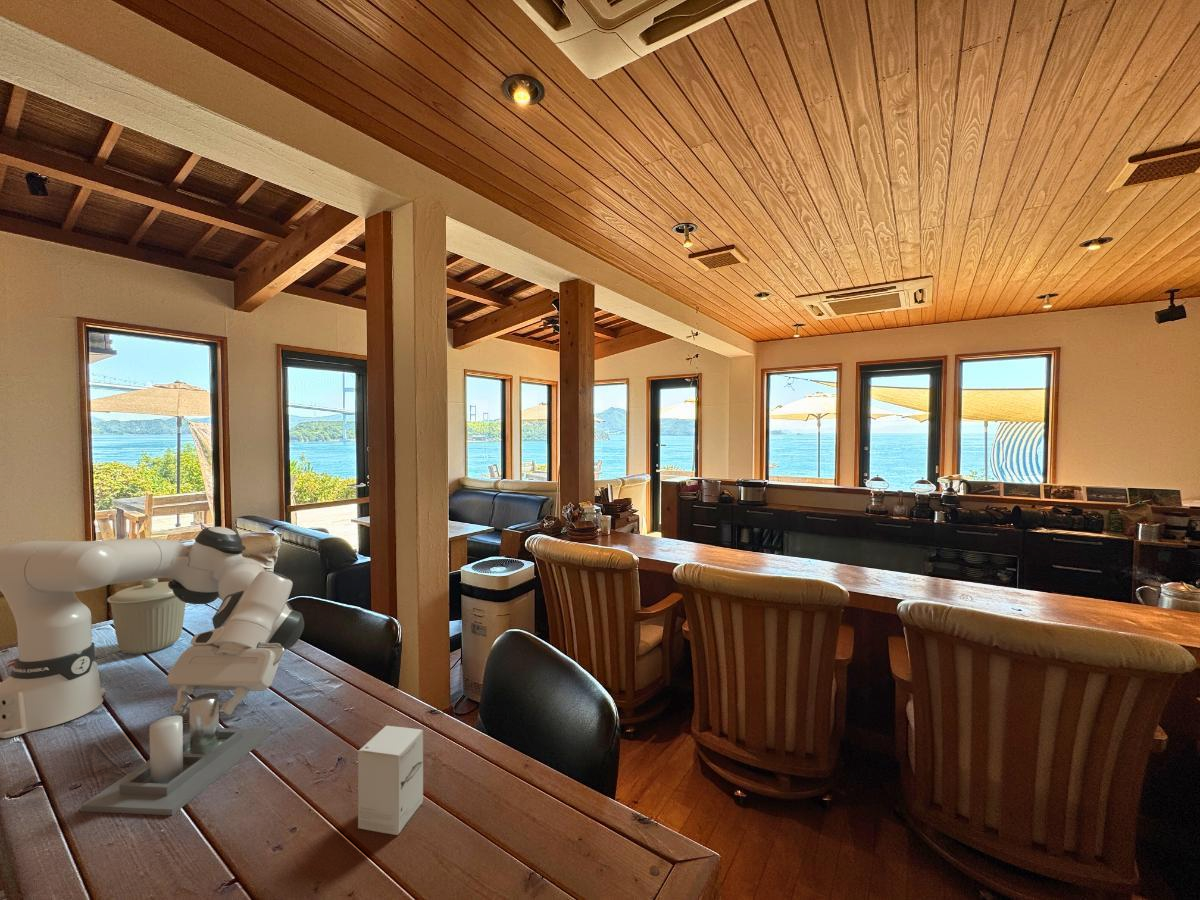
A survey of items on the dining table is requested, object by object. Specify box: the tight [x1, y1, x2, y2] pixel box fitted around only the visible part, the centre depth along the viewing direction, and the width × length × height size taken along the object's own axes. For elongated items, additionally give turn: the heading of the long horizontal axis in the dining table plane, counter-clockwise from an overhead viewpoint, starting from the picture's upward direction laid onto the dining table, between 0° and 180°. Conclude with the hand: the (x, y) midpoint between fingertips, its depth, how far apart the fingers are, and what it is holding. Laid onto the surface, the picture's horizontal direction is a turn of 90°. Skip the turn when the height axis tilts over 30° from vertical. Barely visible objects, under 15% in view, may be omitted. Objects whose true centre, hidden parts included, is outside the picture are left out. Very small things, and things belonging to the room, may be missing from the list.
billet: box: [188, 692, 220, 755], centre depth 95 cm, size 4×4×10 cm
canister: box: [106, 578, 187, 655], centre depth 145 cm, size 18×18×21 cm
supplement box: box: [357, 725, 424, 836], centre depth 79 cm, size 7×7×13 cm
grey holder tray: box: [80, 715, 272, 816], centre depth 91 cm, size 16×22×11 cm
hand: (201, 713), depth 94 cm, fingers open, 8 cm apart
